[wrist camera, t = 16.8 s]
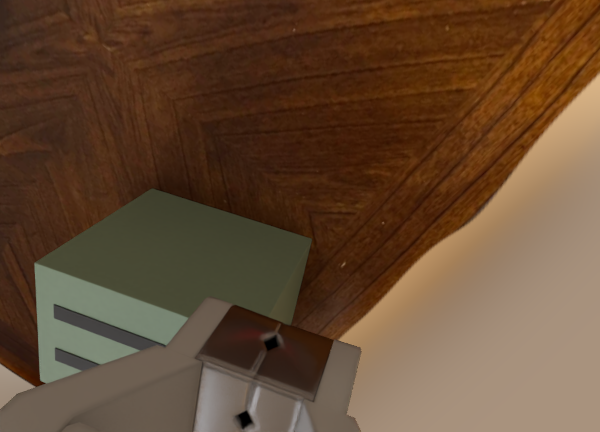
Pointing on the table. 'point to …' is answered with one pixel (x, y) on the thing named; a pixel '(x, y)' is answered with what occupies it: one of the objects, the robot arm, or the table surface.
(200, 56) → the table surface
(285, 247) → the toaster
